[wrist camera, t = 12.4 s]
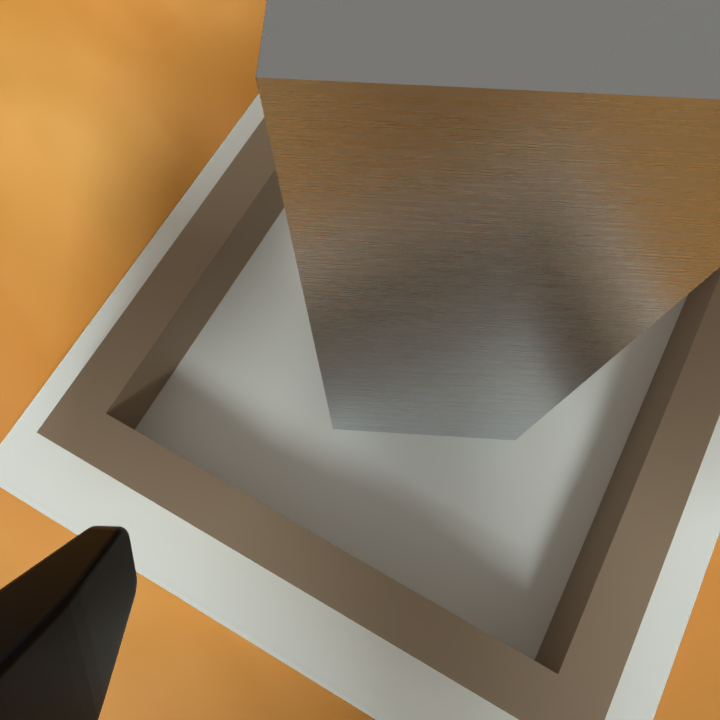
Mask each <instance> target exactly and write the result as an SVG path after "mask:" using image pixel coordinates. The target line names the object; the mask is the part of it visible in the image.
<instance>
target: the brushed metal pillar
mask: <svg viewBox="0 0 720 720" xmlns="http://www.w3.org/2000/svg"><path fill="white" fill-rule="evenodd" d="M256 81H257V85H258V90H259V94H260V99H261V103H262V108H263V112H264V117H265V121H266V126H267V131H268V135H269V140H270V144H271V149H272V153H273V158H274V162H275V167H276V172H277V176H278V181H279V185H280V190H281V194H282V199H283V203H284V208H285V213H286V217H287V222H288V226H289V231H290V235H291V240H292V244H293V249H294V253H295V258H296V263H297V267H298V272H299V276H300V281H301V285H302V290H303V294H304V299H305V304H306V308H307V313H308V317H309V322H310V326H311V331H312V335H313V340H314V345H315V349H316V354H317V358H318V363H319V367H320V372H321V376H322V381H323V386H324V390H325V395H326V399H327V404H328V408H329V413H330V417H331V422H332V426H333V429H339V430H355V431H371V432H388V433H404V434H420V435H436V436H453V437H469V438H485V439H502V440H516V439H517V438H519V437H520V436H521V435H522V434H523V433H524V432H526V431H527V430H528V429H529V428H530V427H532V426H533V425H534V424H535V423H536V422H537V421H539V420H540V419H541V418H542V417H543V416H544V415H546V414H547V413H548V412H549V411H550V410H552V409H553V408H554V407H555V406H556V405H557V404H559V403H560V402H561V401H562V400H563V399H565V398H566V397H567V396H568V395H569V394H570V393H572V392H573V391H574V390H575V389H576V388H578V387H579V386H580V385H581V384H582V383H583V382H585V381H586V380H587V379H588V378H589V377H591V376H592V375H593V374H594V373H595V372H596V371H598V370H599V369H600V368H601V367H602V366H604V365H605V364H606V363H607V362H608V361H609V360H611V359H612V358H613V357H614V356H615V355H617V354H618V353H619V352H620V351H621V350H622V349H624V348H625V347H626V346H627V345H628V344H630V343H631V342H632V341H633V340H634V339H635V338H637V337H638V336H639V335H640V334H641V333H643V332H644V331H645V330H646V329H647V328H648V327H650V326H651V325H652V324H653V323H654V322H656V321H657V320H658V319H659V318H660V317H661V316H663V315H664V314H665V313H666V312H667V311H669V310H670V309H671V308H672V307H673V306H674V305H676V304H677V303H678V302H679V301H680V300H682V299H683V298H684V297H685V296H686V295H687V294H689V293H690V292H691V291H692V290H693V289H695V288H696V287H697V286H698V285H699V284H700V283H702V282H703V281H704V280H705V279H706V278H708V277H709V276H710V275H711V274H712V273H713V272H715V271H716V270H717V269H718V268H719V267H720V0H267V4H266V11H265V17H264V24H263V31H262V38H261V45H260V52H259V59H258V66H257V73H256Z"/></svg>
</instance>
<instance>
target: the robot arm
mask: <svg viewBox="0 0 720 720" xmlns="http://www.w3.org/2000/svg"><path fill="white" fill-rule="evenodd" d="M136 586H137V576H136V570H135V564H134V558H133V553H132V547H131V542H130V537H129V533H128V531H127V530H126V529H125V528H123V527H120V526H92V527H90V528H88V529H86V530H85V531H83V532H82V533H80V534H79V535H78V536H76V537H75V538H73V539H72V540H70V541H69V542H68V543H66V544H65V545H63V546H62V547H60V548H59V549H58V550H56V551H55V552H53V553H52V554H50V555H49V556H48V557H46V558H45V559H43V560H42V561H40V562H39V563H38V564H36V565H35V566H33V567H32V568H30V569H29V570H28V571H26V572H25V573H23V574H22V575H20V576H19V577H17V578H16V579H15V580H13V581H12V582H10V583H9V584H7V585H6V586H5V587H3V588H2V589H0V720H98V718H99V715H100V712H101V709H102V705H103V702H104V699H105V696H106V692H107V689H108V686H109V682H110V679H111V675H112V672H113V669H114V665H115V662H116V658H117V655H118V652H119V648H120V645H121V641H122V638H123V635H124V631H125V628H126V624H127V621H128V618H129V614H130V611H131V607H132V604H133V601H134V597H135V593H136Z"/></svg>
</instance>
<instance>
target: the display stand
mask: <svg viewBox="0 0 720 720" xmlns="http://www.w3.org/2000/svg"><path fill="white" fill-rule="evenodd" d="M0 487H1V488H3V489H4V490H6V491H8V492H9V493H11V494H12V495H14V496H16V497H17V498H19V499H20V500H22V501H24V502H25V503H27V504H28V505H30V506H32V507H33V508H35V509H37V510H38V511H40V512H41V513H43V514H45V515H46V516H48V517H49V518H51V519H53V520H54V521H56V522H58V523H59V524H61V525H62V526H64V527H66V528H67V529H69V530H70V531H72V532H74V533H75V534H77V535H79V534H80V533H82V532H83V531H85V530H86V529H88V528H90V527H92V526H120V527H123V528H125V529H126V530H127V531H128V533H129V537H130V542H131V547H132V553H133V558H134V564H135V570H136V571H137V572H138V573H140V574H141V575H143V576H145V577H146V578H148V579H149V580H151V581H153V582H154V583H156V584H158V585H159V586H161V587H162V588H164V589H166V590H167V591H169V592H170V593H172V594H174V595H175V596H177V597H179V598H180V599H182V600H183V601H185V602H187V603H188V604H190V605H191V606H193V607H195V608H196V609H198V610H199V611H201V612H203V613H204V614H206V615H208V616H209V617H211V618H212V619H214V620H216V621H217V622H219V623H220V624H222V625H224V626H225V627H227V628H229V629H230V630H232V631H233V632H235V633H237V634H238V635H240V636H241V637H243V638H245V639H246V640H248V641H249V642H251V643H253V644H254V645H256V646H258V647H259V648H261V649H262V650H264V651H266V652H267V653H269V654H270V655H272V656H274V657H275V658H277V659H279V660H280V661H282V662H283V663H285V664H287V665H288V666H290V667H291V668H293V669H295V670H296V671H298V672H299V673H301V674H303V675H304V676H306V677H308V678H309V679H311V680H312V681H314V682H316V683H317V684H319V685H320V686H322V687H324V688H325V689H327V690H329V691H330V692H332V693H333V694H335V695H337V696H338V697H340V698H341V699H343V700H345V701H346V702H348V703H350V704H351V705H353V706H354V707H356V708H358V709H359V710H361V711H362V712H364V713H366V714H367V715H369V716H370V717H372V718H374V719H375V720H653V718H654V715H655V713H656V710H657V707H658V704H659V701H660V698H661V696H662V693H663V690H664V687H665V684H666V682H667V679H668V676H669V673H670V670H671V668H672V665H673V662H674V659H675V656H676V653H677V651H678V648H679V645H680V642H681V639H682V637H683V634H684V631H685V628H686V625H687V623H688V620H689V617H690V614H691V611H692V608H693V606H694V603H695V600H696V597H697V594H698V592H699V589H700V586H701V583H702V580H703V578H704V575H705V572H706V569H707V566H708V563H709V561H710V558H711V555H712V552H713V549H714V547H715V544H716V541H717V538H718V535H719V533H720V267H719V268H718V269H717V270H716V271H715V272H713V273H712V274H711V275H710V276H709V277H708V278H706V279H705V280H704V281H703V282H702V283H700V284H699V285H698V286H697V287H696V288H695V289H693V290H692V291H691V292H690V293H689V294H687V295H686V296H685V297H684V298H683V299H682V300H680V301H679V302H678V303H677V304H676V305H674V306H673V307H672V308H671V309H670V310H669V311H667V312H666V313H665V314H664V315H663V316H661V317H660V318H659V319H658V320H657V321H656V322H654V323H653V324H652V325H651V326H650V327H648V328H647V329H646V330H645V331H644V332H643V333H641V334H640V335H639V336H638V337H637V338H635V339H634V340H633V341H632V342H631V343H630V344H628V345H627V346H626V347H625V348H624V349H622V350H621V351H620V352H619V353H618V354H617V355H615V356H614V357H613V358H612V359H611V360H609V361H608V362H607V363H606V364H605V365H604V366H602V367H601V368H600V369H599V370H598V371H596V372H595V373H594V374H593V375H592V376H591V377H589V378H588V379H587V380H586V381H585V382H583V383H582V384H581V385H580V386H579V387H578V388H576V389H575V390H574V391H573V392H572V393H570V394H569V395H568V396H567V397H566V398H565V399H563V400H562V401H561V402H560V403H559V404H557V405H556V406H555V407H554V408H553V409H552V410H550V411H549V412H548V413H547V414H546V415H544V416H543V417H542V418H541V419H540V420H539V421H537V422H536V423H535V424H534V425H533V426H532V427H530V428H529V429H528V430H527V431H526V432H524V433H523V434H522V435H521V436H520V437H519V438H517V439H516V440H502V439H485V438H469V437H453V436H436V435H420V434H404V433H388V432H371V431H355V430H339V429H333V426H332V422H331V417H330V413H329V408H328V404H327V399H326V395H325V390H324V386H323V381H322V376H321V372H320V367H319V363H318V358H317V354H316V349H315V345H314V340H313V335H312V331H311V326H310V322H309V317H308V313H307V308H306V304H305V299H304V294H303V290H302V285H301V281H300V276H299V272H298V267H297V263H296V258H295V253H294V249H293V244H292V240H291V235H290V231H289V226H288V222H287V217H286V213H285V208H284V203H283V199H282V194H281V190H280V185H279V181H278V176H277V172H276V167H275V162H274V158H273V153H272V149H271V144H270V140H269V135H268V131H267V126H266V121H265V117H264V112H263V108H262V103H261V99H260V94H258V95H257V97H256V98H255V99H254V101H253V102H252V103H251V105H250V106H249V107H248V109H247V110H246V112H245V113H244V114H243V116H242V117H241V118H240V120H239V121H238V122H237V124H236V125H235V126H234V128H233V129H232V131H231V132H230V133H229V135H228V136H227V137H226V139H225V140H224V141H223V143H222V144H221V145H220V147H219V148H218V150H217V151H216V152H215V154H214V155H213V156H212V158H211V159H210V160H209V162H208V163H207V164H206V166H205V167H204V169H203V170H202V171H201V173H200V174H199V175H198V177H197V178H196V179H195V181H194V182H193V184H192V185H191V186H190V188H189V189H188V190H187V192H186V193H185V194H184V196H183V197H182V198H181V200H180V201H179V203H178V204H177V205H176V207H175V208H174V209H173V211H172V212H171V213H170V215H169V216H168V217H167V219H166V220H165V222H164V223H163V224H162V226H161V227H160V228H159V230H158V231H157V232H156V234H155V235H154V236H153V238H152V239H151V241H150V242H149V243H148V245H147V246H146V247H145V249H144V250H143V251H142V253H141V254H140V255H139V257H138V258H137V260H136V261H135V262H134V264H133V265H132V266H131V268H130V269H129V270H128V272H127V273H126V275H125V276H124V277H123V279H122V280H121V281H120V283H119V284H118V285H117V287H116V288H115V289H114V291H113V292H112V294H111V295H110V296H109V298H108V299H107V300H106V302H105V303H104V304H103V306H102V307H101V308H100V310H99V311H98V313H97V314H96V315H95V317H94V318H93V319H92V321H91V322H90V323H89V325H88V326H87V327H86V329H85V330H84V332H83V333H82V334H81V336H80V337H79V338H78V340H77V341H76V342H75V344H74V345H73V347H72V348H71V349H70V351H69V352H68V353H67V355H66V356H65V357H64V359H63V360H62V361H61V363H60V364H59V366H58V367H57V368H56V370H55V371H54V372H53V374H52V375H51V376H50V378H49V379H48V380H47V382H46V383H45V385H44V386H43V387H42V389H41V390H40V391H39V393H38V394H37V395H36V397H35V398H34V399H33V401H32V402H31V404H30V405H29V406H28V408H27V409H26V410H25V412H24V413H23V414H22V416H21V417H20V418H19V420H18V421H17V423H16V424H15V425H14V427H13V428H12V429H11V431H10V432H9V433H8V435H7V436H6V438H5V439H4V440H3V442H2V443H1V444H0Z"/></svg>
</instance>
